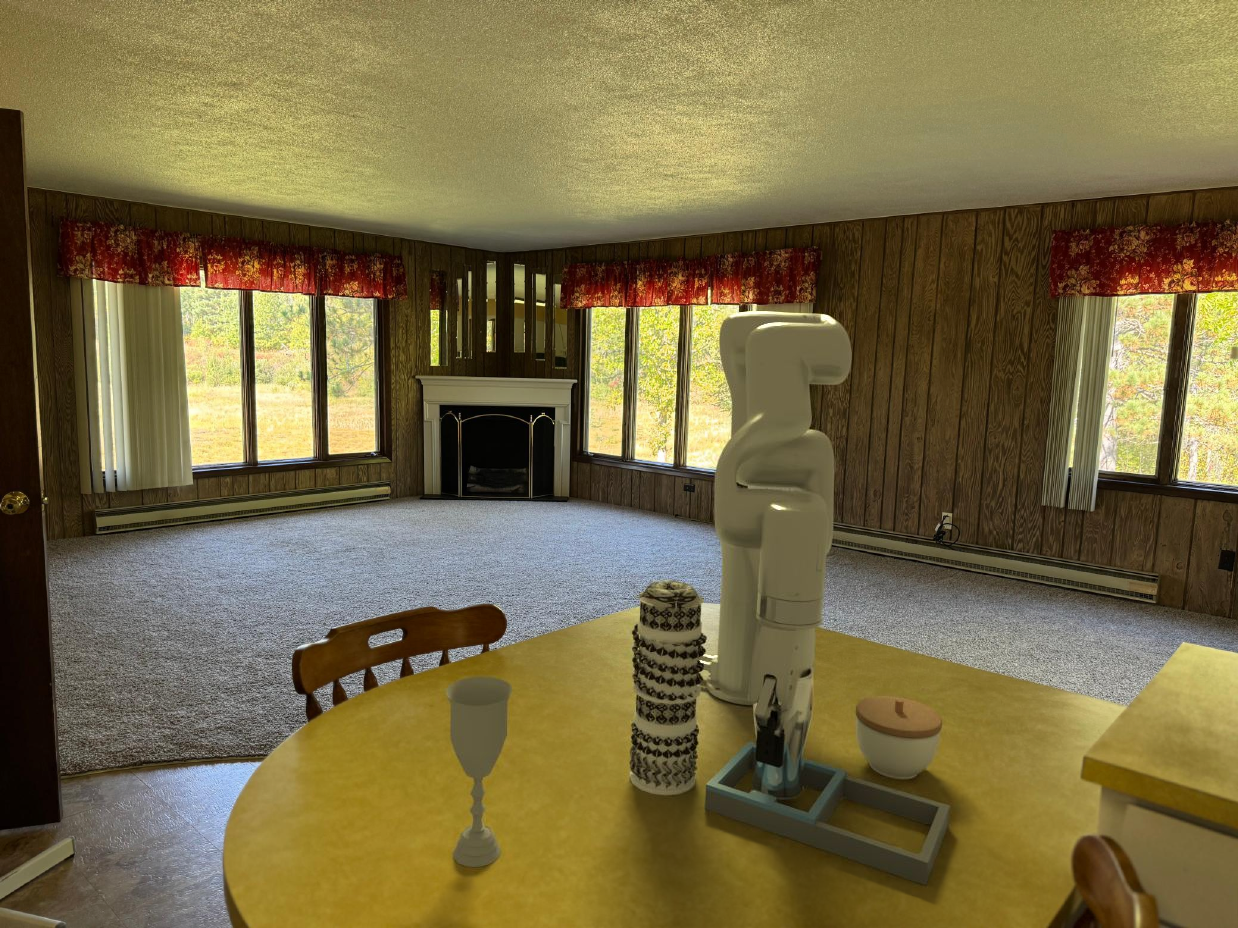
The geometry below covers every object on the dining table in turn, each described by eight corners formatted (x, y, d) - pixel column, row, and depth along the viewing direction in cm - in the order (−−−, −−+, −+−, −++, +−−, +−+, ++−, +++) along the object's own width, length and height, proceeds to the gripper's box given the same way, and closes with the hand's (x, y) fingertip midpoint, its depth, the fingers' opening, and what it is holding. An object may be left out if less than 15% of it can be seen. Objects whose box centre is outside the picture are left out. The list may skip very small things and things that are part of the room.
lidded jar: (840, 771, 107) (845, 702, 106) (866, 740, 116) (871, 677, 115) (925, 798, 101) (931, 726, 100) (945, 764, 110) (952, 697, 109)
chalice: (448, 832, 90) (450, 676, 88) (510, 831, 91) (514, 676, 88) (439, 874, 83) (441, 705, 81) (507, 872, 84) (510, 705, 81)
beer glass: (807, 805, 95) (816, 682, 93) (746, 797, 96) (754, 675, 94) (806, 775, 102) (814, 660, 100) (749, 768, 103) (756, 654, 101)
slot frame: (704, 808, 97) (706, 784, 97) (746, 763, 108) (748, 741, 108) (925, 885, 84) (928, 857, 84) (947, 825, 95) (950, 800, 95)
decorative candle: (667, 805, 97) (677, 602, 94) (611, 776, 103) (618, 584, 100) (713, 778, 104) (724, 587, 101) (658, 752, 110) (666, 571, 107)
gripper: (784, 584, 105) (775, 716, 108) (730, 620, 91) (721, 772, 93) (842, 595, 101) (831, 732, 104) (795, 634, 87) (784, 792, 89)
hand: (779, 749), depth 99 cm, fingers closed on beer glass, 6 cm apart
